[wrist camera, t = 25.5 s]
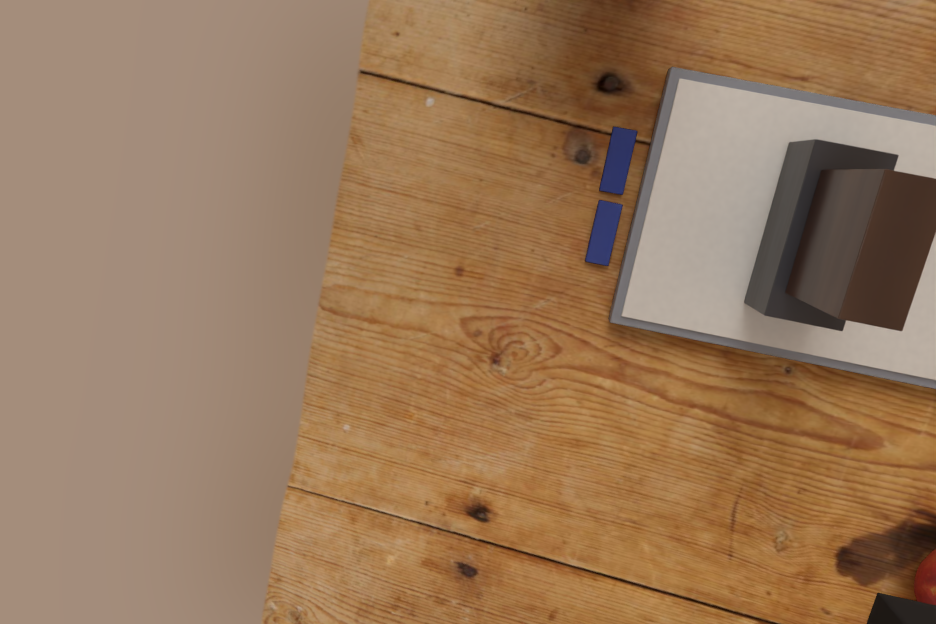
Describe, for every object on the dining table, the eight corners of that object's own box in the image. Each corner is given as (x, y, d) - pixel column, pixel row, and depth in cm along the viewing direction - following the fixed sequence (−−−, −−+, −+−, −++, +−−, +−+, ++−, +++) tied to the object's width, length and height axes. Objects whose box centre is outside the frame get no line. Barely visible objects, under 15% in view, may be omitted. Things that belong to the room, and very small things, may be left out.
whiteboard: (608, 319, 46) (610, 323, 44) (668, 69, 42) (672, 66, 41) (976, 394, 44) (988, 400, 43) (1069, 143, 41) (1084, 142, 40)
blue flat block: (637, 130, 43) (636, 131, 43) (613, 126, 43) (612, 126, 43) (622, 195, 44) (622, 194, 44) (599, 190, 44) (598, 190, 44)
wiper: (743, 302, 43) (812, 346, 33) (788, 141, 41) (879, 131, 31) (814, 317, 43) (908, 365, 32) (864, 156, 41) (982, 151, 30)
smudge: (622, 204, 44) (621, 204, 44) (599, 200, 44) (598, 199, 44) (608, 266, 45) (607, 265, 45) (585, 261, 45) (584, 260, 45)
